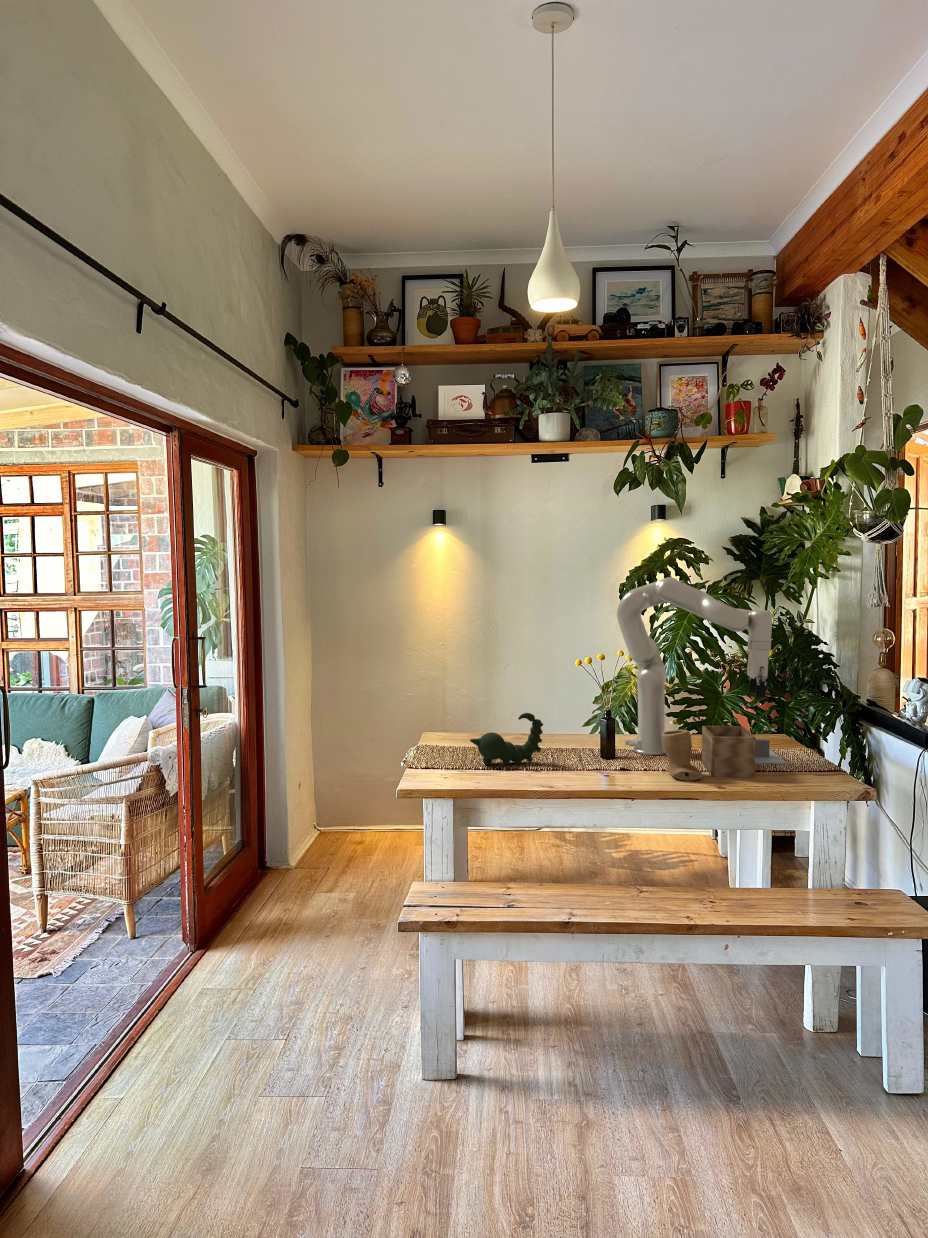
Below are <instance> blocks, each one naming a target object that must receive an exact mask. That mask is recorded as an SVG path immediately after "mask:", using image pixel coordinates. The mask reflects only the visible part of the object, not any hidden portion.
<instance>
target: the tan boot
mask: <svg viewBox="0 0 928 1238" xmlns="http://www.w3.org/2000/svg"><path fill="white" fill-rule="evenodd" d="M691 737H692V736H691V733H690V731H689V730H687V729H675V730H668V731H667V730H666V731H665V732H663V733H662V735H661V738H662V745H663V748H664V750H665V753H666V754H665V755H666V757H667V759H668V766H667V767H666V771H667V772H668V773H669V775H671V776H672V777H673V778H675V779H679V780H681V781H686V782H689V781H697V780H698V779H702V778H703V777H704V775H703V774H702V772H701V771H700V770H699V769H698V767H696V766H695V765H694V764H692V763H691V756H692V755H691V754H692V748H693V745H692V744H693V742H692V738H691Z"/></svg>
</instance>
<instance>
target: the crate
mask: <svg viewBox="0 0 928 1238" xmlns="http://www.w3.org/2000/svg"><path fill="white" fill-rule="evenodd" d="M701 729H702V730H701V764H702V765H703V766H704V767H703V768H705V769H706V770H707V772H708V774H709V775H710V776H711V777H714V778H719V777H720V778H755V777H756V765H755V744H756V739H757V737H756V736H754V735H753V734H752V733H751V732H750V731H749V730H748V729H746V727H744V726H743V725H737V726H736V725H702V726H701Z"/></svg>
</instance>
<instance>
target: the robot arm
mask: <svg viewBox="0 0 928 1238" xmlns="http://www.w3.org/2000/svg"><path fill="white" fill-rule="evenodd" d="M664 603H668V604H670V605H673V606H675V607H678V608H680V609H682V610H685V611H686V612H689V613H690V614H693V615H695V616H697V617H699V618H703V619H705V620H707V621H709V622H711V623H713V624H716V625H718V626H719V627H723V628H725V629H727V630H729V631H732V632H737V633H740V632H743V631H745V630H748V635H747V636H748V637H747V639H748V640H747V650H748V658H747V669H746V675H747V676H748V677H749V682H748V683H749V684H748V691H749V692H750V693H755V696H756V697H757V698H765V697H766V696H767V678H768V675H769V674H768V672H769V651H772V650H771V648H772V629H773V628H772V627H773V626H772V625H773V613H772V611H770V610H765V609H764V610H763V609H753V610H750V609H744V608H734V607H733V606H730V605H728V604H725V603H723V602H721V601H719V600H718V599H716V598H714V597H712V596H711V595H710V594H709V593H706V592H705V591H703V590H700V589H698V588H696V587H694V586H693V587H692V586H691V585H689V584H686V583H683V582H681V581H680V580H678V579H676V578H674V577H672V576H669V577H665V578H662V579H660V580H657V581H654V582H651V583H648V584H645V585H641V586H637V587H635V588H632V589H630V590H629V591H628V592H627V593H625V595H624V596H623V597H622V598H621V600H620V601H619V603H618V606H617V611H616V617H617V622H618V626H619V628H620V632H621V634H622V637H623V640H624V643H625V645H626V648H627V651H628V655H629V657H630V659H631V660H632V661H633V662H634V663H635V665H636V667H637V670H638V676H637V680H636V681H637V682H636V686H637V687H636V688H637V736H636V737H635V739H625V740H624V746H629V747H633V751H634V752H635V753H636V754H641V755H647V756H662V755H666V753H665V750H664V748H663V745H662V738H661V735H662V733H663V732H666V731H665V730H666V729H665V725H666V723H665V719H666V718H665V717H666V712H665V710H666V708H665V707H666V706H665V704H666V699H665V688H666V687H665V685H666V684H665V683H666V680H667V677H668V676H667V675H668V674H667V670H666V666H665V664H664V662H663V658H662V656H661V653H660V650H659V649H658V646H657V643H656V641H655V640H654V639H653V638H652V637H650V636H649V635H648V632H647V629H646V627H645V624H644V621H643V619H642V612H643V611H644V610H646V609H650V608H653V607H655V606H658V605H661V604H664Z"/></svg>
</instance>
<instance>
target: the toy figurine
mask: <svg viewBox="0 0 928 1238" xmlns="http://www.w3.org/2000/svg"><path fill="white" fill-rule="evenodd" d="M522 719H526V720H527V721H529V722H530V723H531V727H530V733H529V735H528V736H527V741H525V743H524V744H522V745H520V744H514V743H512V742H510V741H505V739H504V738H503V736H502V735H500V734H499V733H496V732H493V731H492V732H487V733H484V734H483V735H482V736H481V737H479V738H470V739H469V741H470V742H471V743H472V744H474V745H475V746H476V747H477V749H478V750H477V751H478V752H479V754H480V756H481V757H482V762H483V764H484V765H487V766H490V765H492V763H493V761H495V760H501V761H502V763H503V764H504V765H509V763H510V761H511V762H513V763H515V765H517V766H520V765H522V762H523V761H524V760H526V761H527V762H529V763H531V762H533V760H534V758H533V753H535V752H536V753H540V752H541V751H542V749H541V747H540V746H539V743H542V742H543V740H542V738H541V735H542V734H543V730H542V727H543V726H544V723H543V721H542V720H540V719H539V718H536V716H535V714H533V713H530V712H524V713H522V714H520V715H519V716H518V720H519V721H520V720H522Z"/></svg>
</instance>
